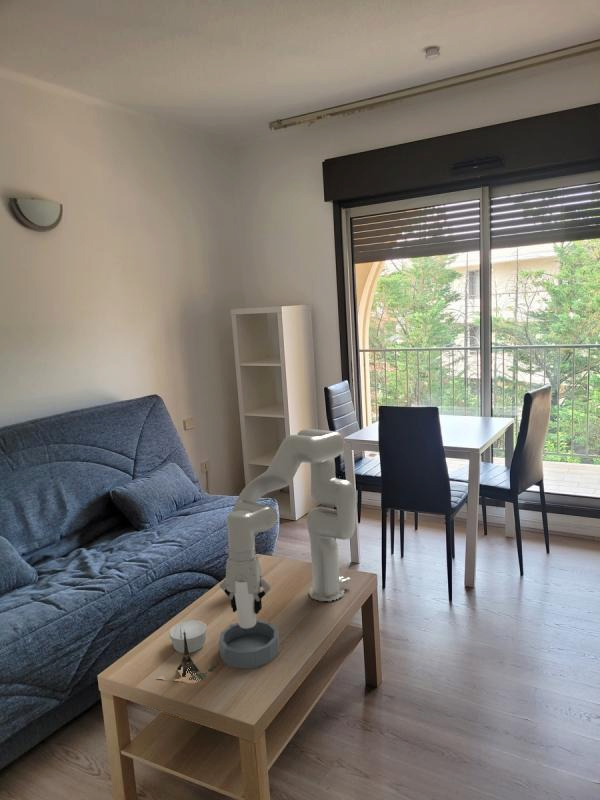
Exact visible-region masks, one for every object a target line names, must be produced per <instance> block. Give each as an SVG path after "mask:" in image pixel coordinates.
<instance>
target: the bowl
mask: <svg viewBox="0 0 600 800" xmlns="http://www.w3.org/2000/svg"><path fill="white" fill-rule="evenodd" d="M218 645H219V647H218V648H219V657H220V659H221V660H222V661H223V662H224V664H225V666H230V667H233V668H236V669H239V670H243V669H255V668H256V669H257V668H260V667H261V666H264V665H266V664H269V663H271V662H272V661H273V660H274V659H275V658H276V657H277V656H278V655H279V654H280V636H279V628H277V627H276V626H275V625H274V624H273V623H272V622H269V621H265V620H262V619H256V625H255V626H254V627H252V628H249V629H244V628H241V627H240V626H239V624H238V622H236V623H232V624H230V625H229V626H227V627H226V628H225V629H224V630H223V631H221V632H220V634H219V640H218Z"/></svg>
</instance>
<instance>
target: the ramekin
mask: <svg viewBox="0 0 600 800" xmlns="http://www.w3.org/2000/svg"><path fill="white" fill-rule="evenodd" d="M207 631H208V626H207V624H206V623H205V622H204V621H200V620H193V619H192V620H191V619H190V620H186V621H181V622H179V623H178V624H176V625H174V626H173V627H172V628H171V629H170V631H169V638H170V639H171V642H172V646H173V649H174V650H176V651H177V652H178V653H180V654H184V634H183V633H184V632H185V633H186V641H187V647H188V651H189V654H190V653H194V652H197V651H199V650H201V648H203V646H204V645H205V643H206V639H207V638H206V637H207Z"/></svg>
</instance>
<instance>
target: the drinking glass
mask: <svg viewBox="0 0 600 800" xmlns="http://www.w3.org/2000/svg"><path fill="white" fill-rule="evenodd" d="M235 590H236V593H234V596H235V602H236V608H237V610H236V613H237V614H236V615H237V623H238V624H239V626H240V627H241V628H244V629H249V628H252V627H254V626H255V625H256V620H257V614H256V613H255V605H254V601H255V600H256V599H255V597H254V594H249V593H248V586H247V582H238V581H235Z"/></svg>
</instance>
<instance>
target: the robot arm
mask: <svg viewBox="0 0 600 800" xmlns="http://www.w3.org/2000/svg"><path fill="white" fill-rule="evenodd" d="M344 448H345V439H344V436H343V435H342V434H341V433H339V432H337V431H333V430H321V429H313V428H310V429H308V428H306V429H302V430H300V431H299V432H297V434H291V435H287V436H286V437H285V438H284V439H283V440H282V442H281V444H280V446H279V448H278V449H277V451H276V453H275V455H274V457H272V461H271V462H270V463H269V466H268V468H267V469H266V471H264V472H263V473H261V474H260V475H258V476H257V477H256V478H254V479H253V480H251V481H250V482H249V483H247V485H246V486H245V487H244V488H243V489H242V490H241V492H240V494H239V495H238V497H237V499H236V501H235V503H234V505H233V507H232V511H231V512H230V513H229V514H228V515H227V517H226V524H227V525H226V526H227V536H228V548H225V549H224V553H225V554H228V557H227V560H226V565H225V569H226V570H225V579H223V581H222V582H221V583H220V584H219V588H220V589H221V590H222V591H223V592H224V593H225V594H226V596H228V599H229V600H230V608H232V612H233V613H237V608H236V602H235V596H234V593H236V590H235V581H238V582H247V586H248V593H249V594H254V597H255V599H256V600H255V601H254V605H255V613H256V615H258V614H259V612H260V611H261V610H262V608H263V607H262V606H263V604H262V603H263V602H262V599H263V597H265V595H267V593H268V592H269V591H270V590H271V588H272V586H271V585H270V584H269V583H267V581H265V579H264V578H263V575H262V569H261V568H262V567H261V564H260V560H259V557H258V555H256V544H255V543H256V540H255V534H259V533H263V532H267V531H269V530H271V529H272V528H273V527H274V526H275V525H276V524H277V521H278V513H277V511H276V510H275V508H273V507H272V506H270V505H266V504H261V503H257V502H258V500H259V499H261V498H262V497H263V496H264V495H266V494H268V493H270V492H273V491H277V490H281V489H284V488H286V487H288V486H290V484H291V483H292V481H293V479H294V477H295V475H296V473H297V472H298V469H299V468H300V465H301V463H308V464H310V496H311V499H312V501H313V502H314V503H317V504H319V505H322V506H316V507H313V508H311V509H310V510H309V511H308V513H307V514H306V520H305V521H306V528H307V531H308V536H309V541H310V542H309V543H310V555H311V571H312V573H311V574H312V586H311V587H310V588H309V590H308V595H309V596H310V598H311V599H313V600H314V599H315V601H317V600H318V601H317V602H323V601H328V602H333V601H332V600H334V601H337V600H340V599H341V598H342V597H344V595H345V593H344V592H345V588H344V586H345V585H347V584H350V583H352V579H351V577H348V576H347V577H346V578H345V577H344V576H340V564H339V563H340V562H339V547H338V545H339V544H338V542H337V540H336V539H338V540H343V541H344V540H350V539H351V538H352V537H353V535H354V533H355V529H356V519H357V517H356V516H357V514H356V511H357V504H356V503H357V498H356V497H357V493H356V488H355V486H354V485H353V483H352V482H351V481H349V480H346V479H341V478H338V477H336V462H335V458H337V457H339V456H340V455H341V454H342V452H343V451H344ZM323 505H324V506H330V507H333V508H335V509H333V508H330V507H324V506H323ZM260 588H263V589H262V591H261V589H260ZM340 597H341V598H340ZM339 598H340V599H339ZM336 599H337V600H336Z"/></svg>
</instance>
